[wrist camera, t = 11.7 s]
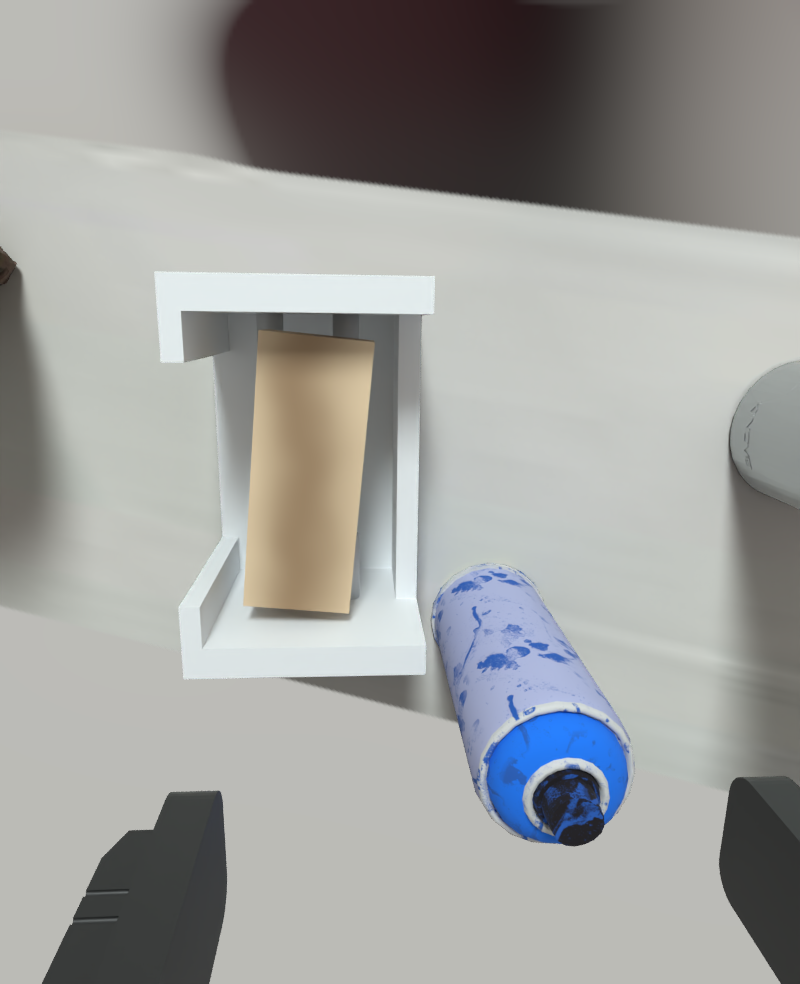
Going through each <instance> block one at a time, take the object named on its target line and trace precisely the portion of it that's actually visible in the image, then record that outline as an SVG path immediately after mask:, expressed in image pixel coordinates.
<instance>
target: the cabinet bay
mask: <svg viewBox="0 0 800 984" xmlns="http://www.w3.org/2000/svg"><path fill="white" fill-rule="evenodd" d="M154 274H155V288H156V302H157V316H158V330H159V344H160V358H161V362H183V363H184V362H188V361H192V360H196V359H200V358H205V357H209V356H213V370H214V389H215V408H216V427H217V445H218V464H219V483H220V502H221V520H222V539H221V540H220V542H219V543H218V545H217V547H216V548H215V550H214V551H213V553H212V555H211V556H210V558H209V559H208V561H207V563H206V564H205V566H204V567H203V569H202V571H201V572H200V574H199V575H198V577H197V579H196V580H195V582H194V583H193V585H192V587H191V588H190V590H189V591H188V593H187V595H186V596H185V598H184V599H183V601H182V603H181V604H180V606H179V607H178V609H179V623H180V637H181V651H182V665H183V678H184V679H217V678H266V677H267V678H271V677H324V676H378V675H425V674H426V642H425V638H424V633H423V628H422V623H421V619H420V614H419V609H418V604H417V599H416V585H417V534H418V483H419V431H420V380H421V328H422V315H430V314H434V294H435V276H389V275H329V274H270V273H210V272H154ZM264 329H272V330H281V331H291V332H300V333H309V334H319V335H328V336H337V337H347V338H356V339H365V340H373V341H374V342H375V346H374V357H373V367H372V378H371V388H370V399H369V409H368V420H367V430H366V441H365V451H364V462H363V472H362V483H361V493H360V504H359V514H358V525H357V535H356V546H355V556H354V567H353V577H352V588H351V598H350V609H349V614H347V613H333V612H320V611H306V610H293V609H279V608H265V607H252V606H243V599H244V581H245V563H246V545H247V527H248V508H249V490H250V472H251V454H252V436H253V418H254V400H255V382H256V364H257V346H258V330H264Z"/></svg>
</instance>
